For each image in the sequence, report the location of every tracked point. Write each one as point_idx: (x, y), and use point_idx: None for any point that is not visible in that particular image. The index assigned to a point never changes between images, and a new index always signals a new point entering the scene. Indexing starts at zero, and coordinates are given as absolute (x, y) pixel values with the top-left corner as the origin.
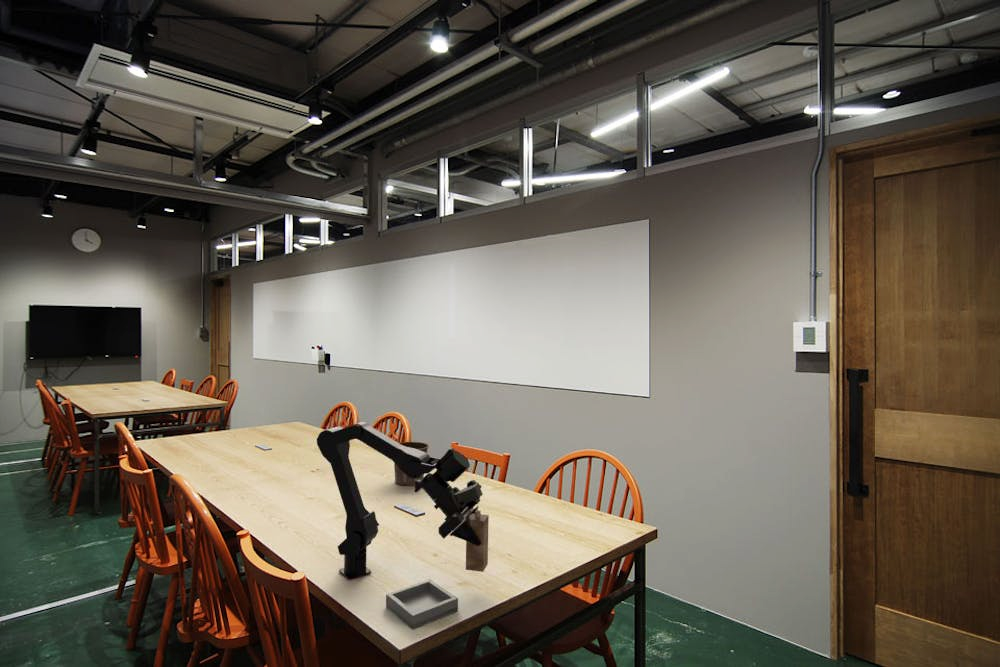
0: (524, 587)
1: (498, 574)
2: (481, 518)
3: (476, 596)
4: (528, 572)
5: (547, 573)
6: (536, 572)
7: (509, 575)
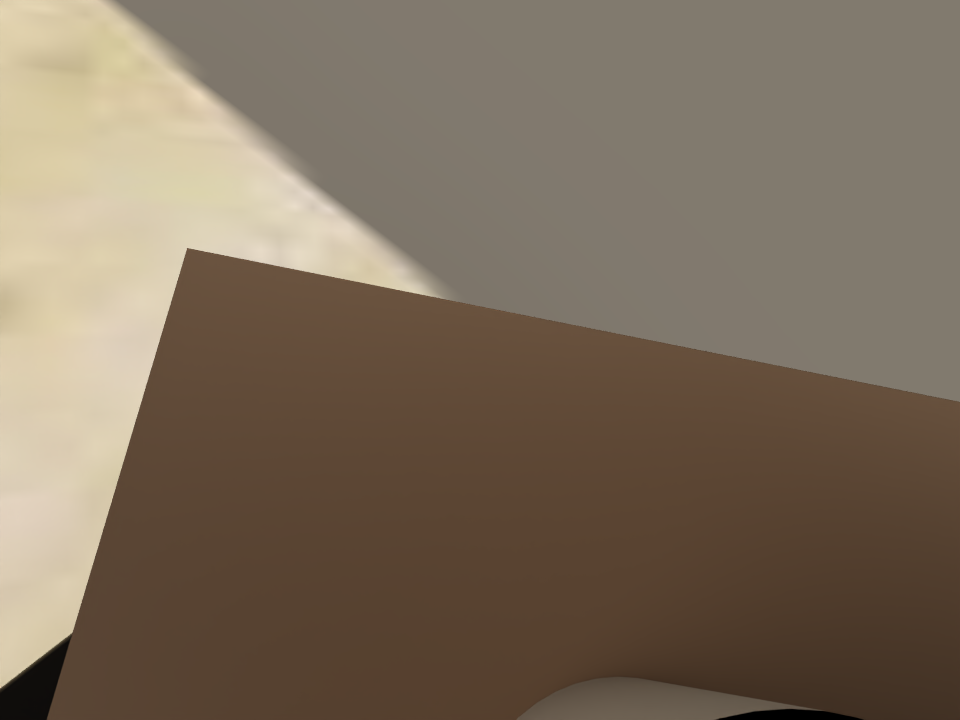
0: (321, 237)
1: (54, 465)
2: (773, 590)
3: None
4: (20, 189)
5: (50, 45)
6: (24, 125)
7: (81, 358)
